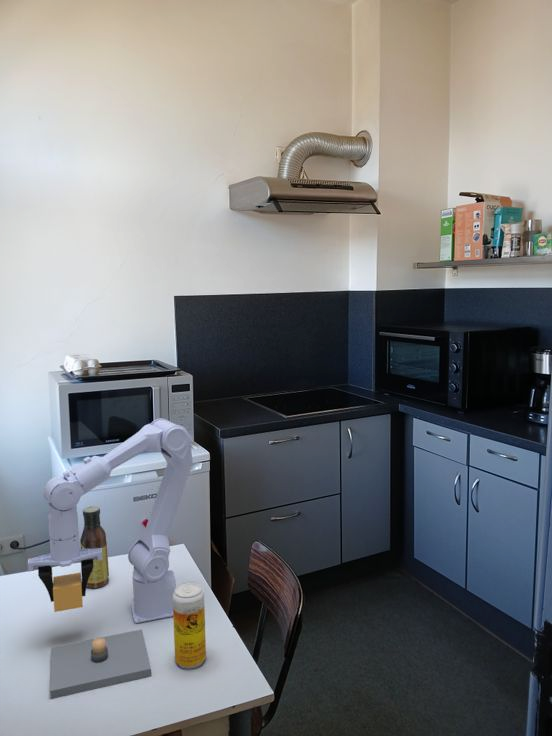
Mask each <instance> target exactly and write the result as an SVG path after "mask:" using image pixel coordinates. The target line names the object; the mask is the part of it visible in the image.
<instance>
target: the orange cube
mask: <svg viewBox="0 0 552 736" xmlns="http://www.w3.org/2000/svg"><path fill="white" fill-rule="evenodd" d="M52 578H53V598H54V601H53V609H54V610H53V611H54V613H56V612H62V611H67V610H73V609H74V610H75V609H80V608H83V604H84V603H83V596H82V573H81V571H80V572H75V573H68V574H64V575H56V576H52Z"/></svg>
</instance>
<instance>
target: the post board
mask: <svg viewBox="0 0 552 736" xmlns="http://www.w3.org/2000/svg"><path fill="white" fill-rule="evenodd" d="M144 637H145V636H144V632H143V629H137V630H131V631H127V632H122V633H117V634H112V635H107V636H102V637H96V638H92V639H86V640H81V641H77V642H72V643H67V644H62V645H58V646H51V651H50V652H51V653H50V683H49V686H50V687H49V693H50V694H49V695H50V699H55V698H60V697H63V696H68V695H73V694H76V693H77V694H78V693H81V692H86V691H90V690H95V689H100V688H104V687H109V686H112V685H117V684H123V683H126V682H131V681H136V680H139V679H144V678H148V677H151V676H152V666H151V663H150V658H149V654H148V651H147V645H146V642H145V638H144Z"/></svg>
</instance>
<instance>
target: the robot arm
mask: <svg viewBox="0 0 552 736" xmlns="http://www.w3.org/2000/svg"><path fill="white" fill-rule="evenodd" d="M192 442H193V438H192V436H191V434H190V433H189V432H188V430H187V429H186V428H185V427H184V426H182V425H179V424H176V423H173V422H172V421H169V420H168V419H166V418H163V417H162V418H161V417H160V418H156V419H154V420H153V421H152V422H150V423H148V424H145V425H144V426H142V427H141V429H140V430H139V431H137V432H136V433H134V434H133V435H132V436H131V437H128V438H127V439H126V440H124V442H122V443H120V444H119V445H117V446H116V447H115V448H113V449H112V450H110V451H109V452H107V453H106V454H105V455H104V456H97V455H93V456H92V457H90V456H86V457H85V458H83V459H82V460H83V462H82V463H80V464H78V465H77V466H75V467H74V468H72V469H71V470H69V471H68V470H64V472H62V475H61V476H58V475H57V476H54V477H53V478H52V477H51V478H50V479H49V480H48V481H47V482H46V484H45V486H44V489H43V491H42V494H43V498H44V499H45V500H46V501H47V502H48V503H47V511H48V514H47V520H48V522H47V523H48V536H49V548H50V553H47V554H44V555H43V554H42V555H39V556H36V557H30V558H28V559H27V572H33V571H35V570H38V571H37V572H38V574H37V575H38V578H39V579H40V581H41V582H42V584H43V585H44V587H45V588H46V591H47V592H48V595H49V599H50V602H51V603H52V602H53V603H54V598H53V567H58V566H60V568H65V567H70V566H72V565H73V564H78V563H80V565H81V566H80V569H81V570H80V572H81V584H82V597H86V594H87V593H86V591H87V588H88V587H87V583H88V579H89V577H90V574H91V572H92V570H93V566H94V565H93V560H97V561H100V560H103V559H102V548H96V549H81V545H80V532H79V518H78V511H77V510H78V507H77V505H78V504H79V502H80V499H81V497H82V496H84V495H85V494H87V493H89V492H90V491H92V490H93V489H95V488H96V487H98V486H99V485H102V483H104V482H105V481H107V480H109V479H110V475H111V472H113V470H114V469H116V468H118V467H120V466H121V465H123V464H125V463H126V462H128V461H129V460H132V459H133V458H136V456H138V455H140V454H142V453H144V452H150V453H151V452H153V453H161V454H162V456H163V458H164V460H165V461H166V467H165V470H164V473H163V475H162V479H161V482H160V484H159V487H158V491H157V493H156V496H155V500H154V503H153V506H152V509H151V512H150V513H149V514H150V515H149V517H148V521H147V523H146V526H145V529H144V530H143V531H140V532H139V533H138V535H137V537H136V540H135V541H134V542H133V544H132V545H131V547H130V548H129V550H128V553H127V558H128V562H129V564H131V565H132V566H133V570H132V589H133V593H132V594H133V603H131V604H130V608H131V613H132V618H133V621H134V623H135V624H139V623H144V622H149V621H155V620H160V619H164V618H170V617H173V594H174V591H175V589H176V587H177V586H176V585H177V584H176V578H175V572H174V571H173V570H171V569H170V570H169V568H170V561H169V557H170V553H171V546H170V545H171V544H170V541H169V535H170V532H171V528H172V525H173V524H174V523H173V522H174V520H175V517H176V515H177V511H178V509H179V508H178V507H179V504H180V501H181V499H182V497H183V493H184V489H185V488H186V484H187V481H188V478H189V475H190V472H191V469H192V467H193V461H194V459H193V453H192V446H191V445H192Z"/></svg>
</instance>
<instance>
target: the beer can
mask: <svg viewBox="0 0 552 736" xmlns="http://www.w3.org/2000/svg"><path fill="white" fill-rule="evenodd" d="M205 611H206V610H205V592H204V591H203V588H202V586H201V585H200V584H197V583H193V582H188V583H182V584H180V585H178V586H176V589H175V591H174V594H173V616H172V617H173V640H174V642H173V643H174V660H175V662H176V663H177V664H178V666H179V667H180V668H183V669H189V670H190V669H194V668H195V669H196V668H199V666H201V665H202V664H203V662H204V661H205V659H206V658H207V651H206V650H207V648H206V647H207V646H206V645H207V643H206V617H205V616H206V615H205V614H206V613H205Z"/></svg>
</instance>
